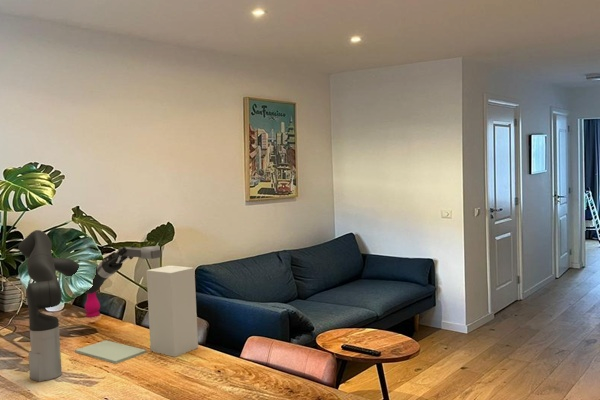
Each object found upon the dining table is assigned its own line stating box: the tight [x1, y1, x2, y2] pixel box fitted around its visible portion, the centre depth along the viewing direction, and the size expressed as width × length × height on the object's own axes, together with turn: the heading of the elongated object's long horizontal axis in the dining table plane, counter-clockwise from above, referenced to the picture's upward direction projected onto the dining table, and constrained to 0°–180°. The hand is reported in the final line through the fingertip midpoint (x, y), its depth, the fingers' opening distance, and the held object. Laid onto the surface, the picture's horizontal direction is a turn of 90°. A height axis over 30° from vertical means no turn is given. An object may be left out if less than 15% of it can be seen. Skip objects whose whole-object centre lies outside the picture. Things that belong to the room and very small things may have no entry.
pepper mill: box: [84, 291, 101, 318], centre depth 269 cm, size 7×7×20 cm
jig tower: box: [146, 264, 199, 358], centre depth 211 cm, size 12×14×32 cm
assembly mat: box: [74, 339, 147, 365], centre depth 211 cm, size 14×26×1 cm, turn 55°
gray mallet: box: [117, 245, 162, 260], centre depth 221 cm, size 7×22×4 cm, turn 55°
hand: (130, 248), depth 224 cm, fingers closed on gray mallet, 4 cm apart
